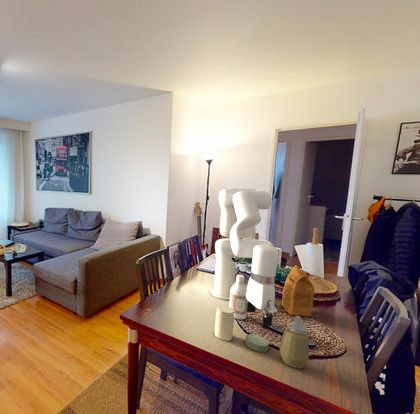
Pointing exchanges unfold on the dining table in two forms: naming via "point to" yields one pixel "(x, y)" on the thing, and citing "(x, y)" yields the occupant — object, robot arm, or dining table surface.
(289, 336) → the squeeze bottle
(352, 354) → the dining table surface
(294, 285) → the coffee package
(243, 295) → the bath foam
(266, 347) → the lid
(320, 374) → the dining table surface
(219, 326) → the jar
